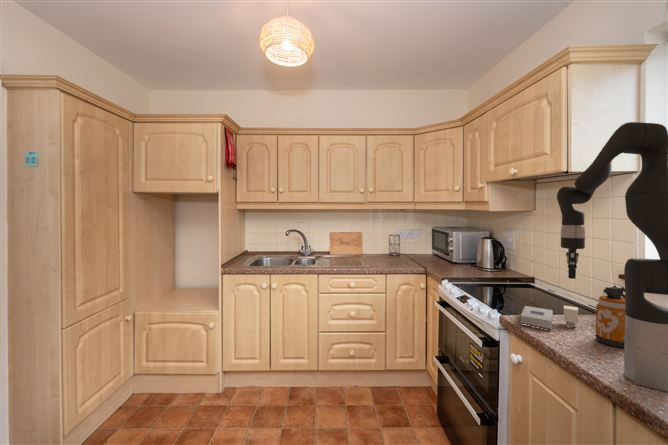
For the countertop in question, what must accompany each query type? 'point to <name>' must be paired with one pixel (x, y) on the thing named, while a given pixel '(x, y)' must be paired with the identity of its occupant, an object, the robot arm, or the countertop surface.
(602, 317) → the canister
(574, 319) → the cream rectangular block
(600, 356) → the countertop surface
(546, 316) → the grey rectangular block
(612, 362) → the countertop surface
